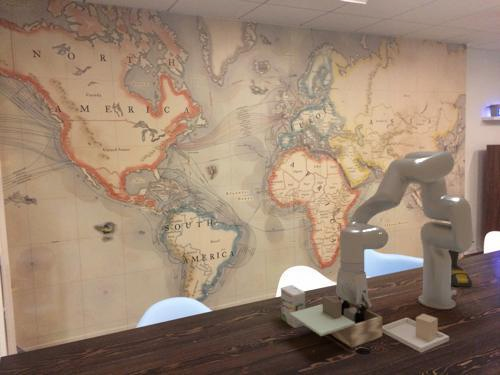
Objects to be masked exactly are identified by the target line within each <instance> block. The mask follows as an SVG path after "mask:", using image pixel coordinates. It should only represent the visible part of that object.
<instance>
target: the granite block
mask: <svg viewBox="0 0 500 375" xmlns="http://www.w3.org/2000/svg"><path fill="white" fill-rule="evenodd" d="M356 312H357V309H356V308H354V307H353V308H346V309H344V317H346V318H348V319H350V320H351V321H353V322H355V324H356Z"/></svg>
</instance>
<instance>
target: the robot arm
mask: <svg viewBox="0 0 500 375" xmlns="http://www.w3.org/2000/svg"><path fill="white" fill-rule="evenodd" d="M454 167H455V158H454V157H453V155H452V154H451V153H450V152H448V151H446V150H445V151H444V150H437V151H436V150H434V151H433V150H432V151H429V150H427V151H413V152H409V153H406V155H405V156H404V158H397V159H394V160H392V161H391V162H390V164H389V165H388V167H387V169H386V171H385V173H384V174H383V177H382V179H381V181H380V182H379V185H378V187H377V189H376V191H375V193H374V194H372V196H370V197H369V198H367V199H366V200H365V201H363V203H361V204H360V205H359V206H358V207H357V208H356V209H355V210H354V211H353V214H352V215H351V217H350V220H349V222H348V224H347V227H343V228H342V229H341V230H340V233H339V251H340V252H339V253H340V254H339V256H340V257H339V263H340V265H339V266H340V267H338V270H337V276H336V287H335V290H334V292H335V294H336V295H337V297H338V300H339V301H341V315H342V316H344V309H346V308H350V304H349V303H348V302H350V303H352V304H354V305H356V309H357V312H356V324H357V323H360V322H363V321H364V312H365V311H366V310H369V309H370V308H372V302H371V301H370V299H369V290H368V289H369V288H368V278H367V274H366V271H365V251H366V250H380V249H381V248H384V247H385V246H386V245H387V244H388V241H389V234H388V232H387V231H386V229H385V228H383V227H380V226H377V225H373V224H368V223H369V221H370V220H372V218H373V217H375V216H376V215H379V214H380V213H382V212H383V213H384V212H386V211H390V210H392V209H395V208H397V207H398V206H399V205H400V204H401V202H402V200H403V197H404V195H405V194H406V191H407V189H408V188H409V185H410V184H413V185H414V184H417V185H419V186H420V194H421V204H422V205H421V206H422V211H423V215H424V216H425V217H426V218H427V219H430V220H435V221H428V222H425V223H424V224H423V225H422V226H421V229H420V239H421V240H420V241H421V245H422V251H423V252H422V257H423V260H422V261H423V262H422V265H423V266H422V294H420V295H419V296H418V298H417V299H418V302H419V303H420V304H422V305H423V306H425V307H427V308H431V309H436V310H452V309H454V308H456V302H455V300H454V299H452V296H455V295H457V290H456V289H452V285H451V256H450V254H449V252H448V250H452V251H457V252H461V253H466V252H468V251H469V250H470V249H471V248H472V245H473V243H472V242H473V241H474V240H473V239H474V234H473V233H474V232H473V231H474V230H473V218H472V216H473V215H472V208H471V205H470V202H469V201H468V200H467V199H466V198H465V197H463V196H460V195H451V194H450V195H449V194H448V190H447V182H446V179H445V177H446V176H448V175H449V174H450V173H451V172H452V171H453V169H454ZM437 220H438V221H437ZM360 306H361V308H360Z"/></svg>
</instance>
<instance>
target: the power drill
mask: <svg viewBox="0 0 500 375" xmlns="http://www.w3.org/2000/svg"><path fill="white" fill-rule="evenodd" d="M474 242H475V241H474V240H473V242H472V244H474ZM448 252H449V254H450V256H451V286H453V287H457V288H459V287H460V288H461V287H462V288H463V287H466V288H468V287H470V286H472V285H473V282H472V280H471V278H470V276H469V274H468V273H467V271H466V270H464V269H463V268H462V267H460V266H459V265H458V259H459V255H460V254H461V253H462V252H457V251H452V250H448Z"/></svg>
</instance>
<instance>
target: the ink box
mask: <svg viewBox="0 0 500 375" xmlns="http://www.w3.org/2000/svg"><path fill="white" fill-rule="evenodd" d="M280 300H281V301H280V302H281V304H280V306H281V307H280V308H281V309H280V310H281V312H280V313H281V314H280V315H281V316H280V318H281V319H282V320H283V322H285V323H286V324H288V325H289V326H291V327H293V328H294V329H297V328H301V327H303V326H305V325H304V324H302V323H301V322H299V321H297V320H296V319H294V318H293V317H291V316H290V313H292V312H295V311H299V310H303V309H306V292H305V291H303V290H302V289H300V288H299V287H297V286H296V285H295V286H294V285H293V284H291V285H287V286H284V287H280Z"/></svg>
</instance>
